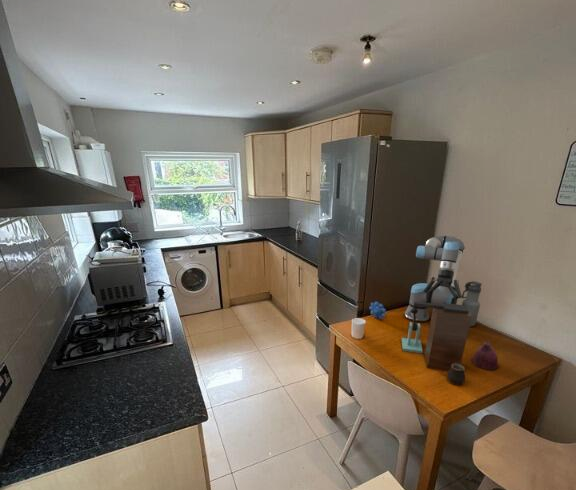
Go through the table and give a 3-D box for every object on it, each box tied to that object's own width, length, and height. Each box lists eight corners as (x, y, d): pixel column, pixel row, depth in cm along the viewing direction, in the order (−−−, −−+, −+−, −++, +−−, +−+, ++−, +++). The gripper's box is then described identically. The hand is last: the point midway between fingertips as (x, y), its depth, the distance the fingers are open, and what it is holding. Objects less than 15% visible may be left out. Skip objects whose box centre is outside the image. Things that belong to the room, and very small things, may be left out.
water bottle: (454, 321, 197) (462, 281, 188) (464, 318, 201) (473, 279, 191) (468, 328, 189) (478, 286, 179) (478, 325, 192) (488, 283, 183)
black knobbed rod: (410, 310, 175) (411, 306, 172) (417, 311, 174) (418, 306, 171) (410, 330, 165) (411, 326, 162) (417, 331, 164) (418, 327, 161)
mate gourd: (456, 375, 143) (460, 357, 140) (468, 386, 136) (472, 367, 133) (442, 377, 142) (446, 359, 139) (453, 387, 135) (457, 369, 132)
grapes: (365, 318, 201) (367, 302, 197) (369, 315, 206) (371, 298, 202) (382, 323, 195) (384, 306, 190) (386, 319, 200) (388, 303, 195)
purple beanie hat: (483, 376, 148) (488, 354, 140) (467, 362, 157) (470, 340, 149) (501, 368, 149) (506, 346, 142) (484, 355, 158) (488, 333, 151)
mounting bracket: (401, 339, 175) (404, 318, 170) (420, 342, 172) (423, 320, 167) (402, 350, 164) (406, 328, 159) (422, 353, 161) (426, 330, 156)
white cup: (358, 340, 174) (359, 325, 170) (347, 335, 179) (349, 320, 176) (366, 336, 178) (368, 321, 175) (356, 331, 184) (357, 316, 181)
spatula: (412, 302, 150) (413, 299, 150) (464, 308, 144) (465, 305, 143) (414, 308, 144) (414, 304, 143) (468, 314, 138) (468, 310, 137)
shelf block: (424, 354, 160) (434, 303, 150) (453, 359, 156) (465, 306, 146) (427, 367, 149) (437, 312, 139) (458, 372, 145) (471, 316, 135)
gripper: (421, 267, 174) (414, 302, 175) (467, 271, 154) (459, 311, 155) (428, 269, 178) (421, 304, 179) (473, 273, 158) (465, 312, 159)
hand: (439, 307), depth 167 cm, fingers open, 13 cm apart
